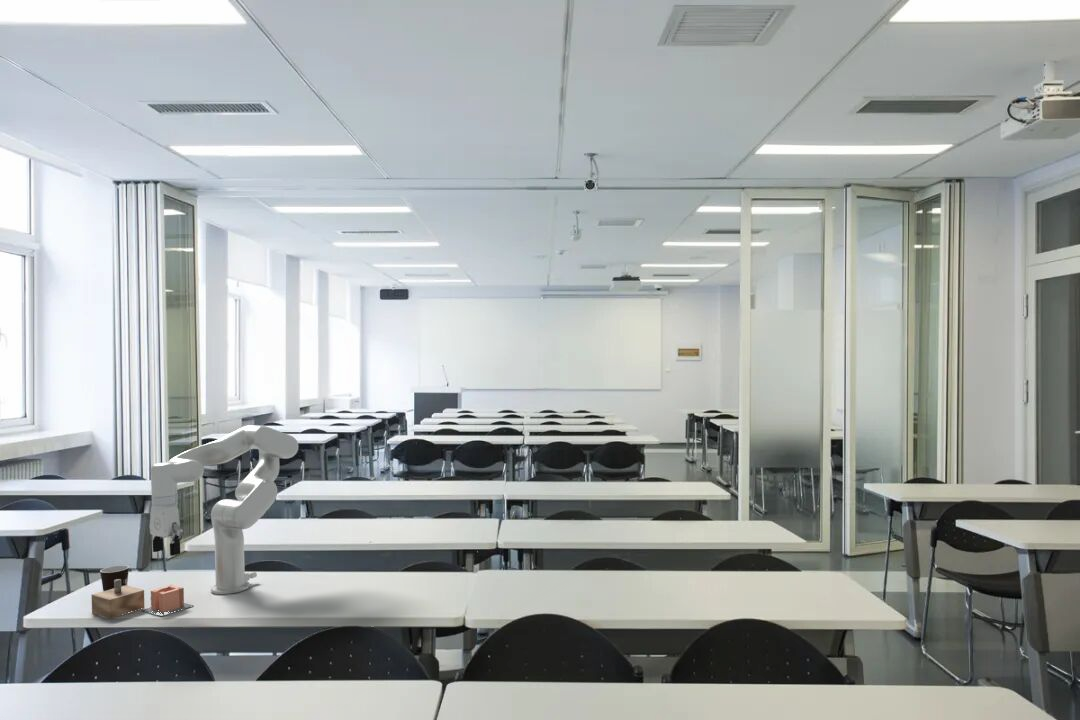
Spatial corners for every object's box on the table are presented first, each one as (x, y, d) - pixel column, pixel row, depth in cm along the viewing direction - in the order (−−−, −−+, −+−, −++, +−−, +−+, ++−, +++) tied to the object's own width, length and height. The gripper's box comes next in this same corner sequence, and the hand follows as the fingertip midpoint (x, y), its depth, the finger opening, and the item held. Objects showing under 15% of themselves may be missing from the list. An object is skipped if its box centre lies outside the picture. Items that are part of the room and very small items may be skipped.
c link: (171, 602, 245) (171, 584, 245) (184, 606, 241) (183, 587, 241) (151, 609, 239) (150, 590, 239) (163, 612, 235) (162, 594, 235)
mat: (174, 601, 248) (174, 600, 248) (193, 606, 242) (193, 605, 242) (141, 611, 239) (141, 609, 239) (160, 616, 233) (160, 615, 233)
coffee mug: (116, 602, 248) (115, 573, 248) (94, 601, 250) (94, 572, 250) (141, 591, 259) (141, 563, 259) (120, 590, 261) (120, 562, 261)
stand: (126, 603, 247) (125, 573, 247) (144, 608, 241) (143, 577, 241) (91, 613, 238) (91, 582, 238) (109, 618, 232) (109, 587, 232)
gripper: (138, 500, 242) (140, 552, 242) (169, 505, 232) (170, 559, 233) (160, 496, 248) (162, 547, 248) (191, 500, 239) (193, 553, 239)
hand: (166, 552), depth 240 cm, fingers open, 9 cm apart
